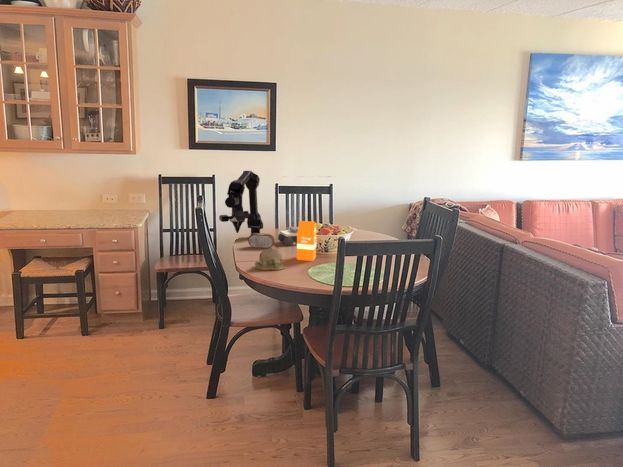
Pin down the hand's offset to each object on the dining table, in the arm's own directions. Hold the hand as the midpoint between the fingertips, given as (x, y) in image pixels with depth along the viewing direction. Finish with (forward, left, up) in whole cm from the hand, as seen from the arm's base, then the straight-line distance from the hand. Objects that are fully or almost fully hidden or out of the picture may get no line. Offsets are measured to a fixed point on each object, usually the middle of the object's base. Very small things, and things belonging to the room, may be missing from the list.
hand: (237, 232), depth 257 cm
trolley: (-4, +34, -10) cm, 36 cm away
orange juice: (+29, +29, -10) cm, 42 cm away
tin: (0, +14, -10) cm, 17 cm away
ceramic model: (+38, +5, -10) cm, 40 cm away
